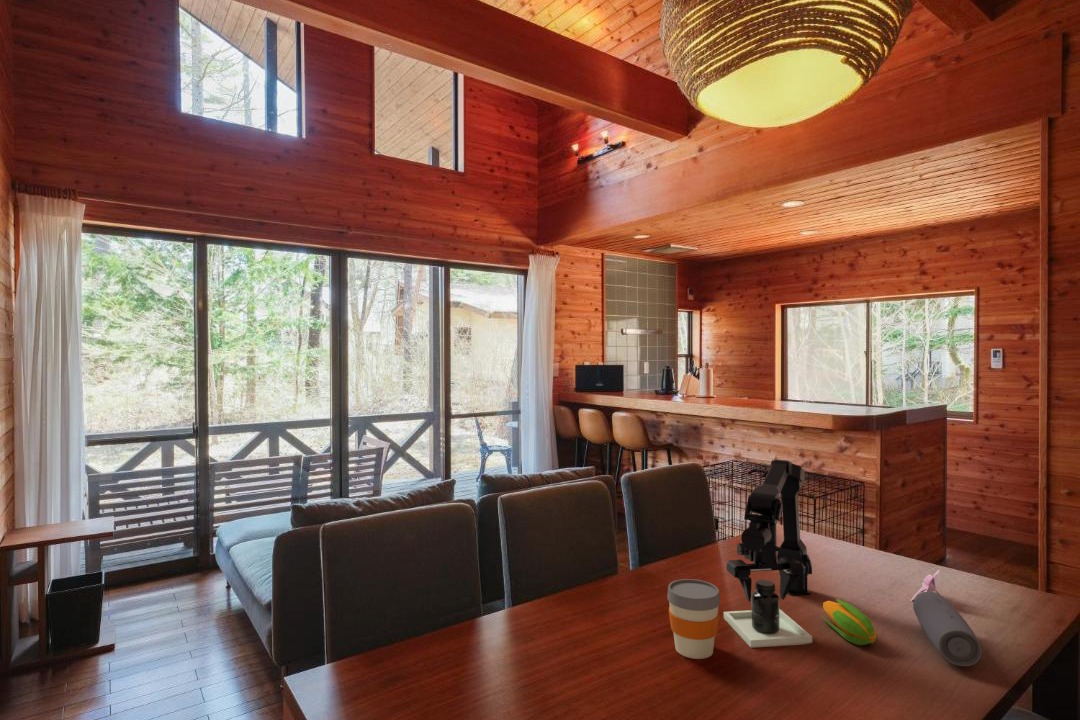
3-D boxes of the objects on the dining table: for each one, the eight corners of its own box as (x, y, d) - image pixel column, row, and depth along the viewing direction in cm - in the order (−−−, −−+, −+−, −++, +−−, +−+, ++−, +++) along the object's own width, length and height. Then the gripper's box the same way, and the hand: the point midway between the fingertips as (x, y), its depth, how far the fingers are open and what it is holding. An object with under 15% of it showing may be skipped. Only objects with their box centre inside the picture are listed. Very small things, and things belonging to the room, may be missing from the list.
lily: (932, 594, 174) (913, 564, 176) (970, 593, 164) (950, 561, 166) (911, 615, 168) (892, 584, 170) (949, 615, 158) (928, 582, 160)
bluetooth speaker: (985, 675, 128) (985, 631, 128) (936, 668, 131) (936, 625, 131) (952, 630, 150) (952, 591, 149) (910, 624, 153) (910, 587, 153)
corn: (857, 621, 139) (811, 588, 158) (855, 653, 138) (809, 615, 158) (886, 621, 139) (836, 588, 159) (884, 653, 139) (835, 616, 159)
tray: (779, 615, 159) (779, 608, 159) (812, 643, 143) (812, 636, 143) (723, 618, 158) (723, 611, 158) (750, 647, 142) (750, 640, 142)
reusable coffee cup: (692, 668, 133) (691, 603, 133) (657, 644, 144) (656, 584, 144) (732, 654, 139) (731, 592, 139) (695, 632, 150) (694, 575, 150)
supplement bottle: (783, 634, 147) (783, 588, 147) (756, 634, 147) (756, 588, 147) (773, 622, 154) (773, 577, 154) (748, 622, 154) (747, 577, 154)
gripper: (782, 529, 159) (783, 585, 159) (717, 532, 158) (718, 589, 158) (805, 542, 148) (805, 602, 148) (735, 545, 146) (736, 607, 147)
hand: (765, 599), depth 150 cm, fingers open, 9 cm apart
